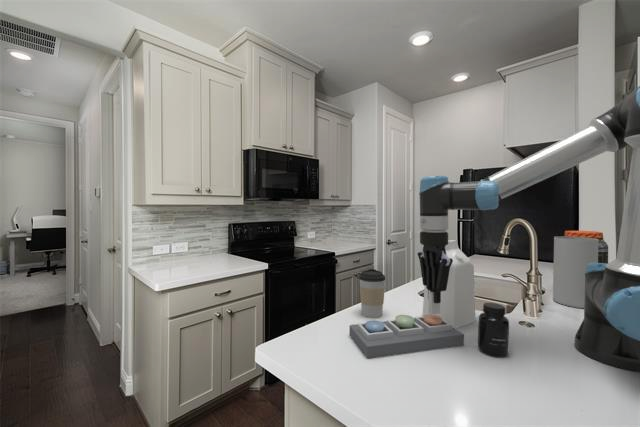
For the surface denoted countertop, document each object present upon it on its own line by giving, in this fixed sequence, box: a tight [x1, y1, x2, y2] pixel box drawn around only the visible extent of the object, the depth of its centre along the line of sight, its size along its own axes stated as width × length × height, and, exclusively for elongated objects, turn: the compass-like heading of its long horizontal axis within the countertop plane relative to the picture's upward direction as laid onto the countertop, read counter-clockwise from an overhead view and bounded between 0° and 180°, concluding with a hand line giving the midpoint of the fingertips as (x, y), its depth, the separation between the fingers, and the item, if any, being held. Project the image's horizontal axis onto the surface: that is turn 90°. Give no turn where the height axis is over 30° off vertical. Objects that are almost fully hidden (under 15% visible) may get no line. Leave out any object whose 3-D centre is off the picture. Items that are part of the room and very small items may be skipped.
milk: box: [421, 239, 477, 330], centre depth 95 cm, size 12×12×26 cm
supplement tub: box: [564, 230, 609, 264], centre depth 126 cm, size 16×16×26 cm
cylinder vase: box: [552, 235, 598, 310], centre depth 109 cm, size 12×12×25 cm
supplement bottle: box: [477, 302, 510, 358], centre depth 74 cm, size 7×7×12 cm
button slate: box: [365, 319, 384, 333], centre depth 78 cm, size 5×5×2 cm
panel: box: [349, 316, 465, 360], centre depth 81 cm, size 13×28×4 cm, turn 104°
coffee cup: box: [358, 268, 386, 319], centre depth 100 cm, size 9×9×15 cm
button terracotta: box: [424, 315, 442, 326], centre depth 83 cm, size 5×5×2 cm
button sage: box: [394, 314, 415, 328], centre depth 81 cm, size 5×5×2 cm
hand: (434, 312), depth 82 cm, fingers closed
